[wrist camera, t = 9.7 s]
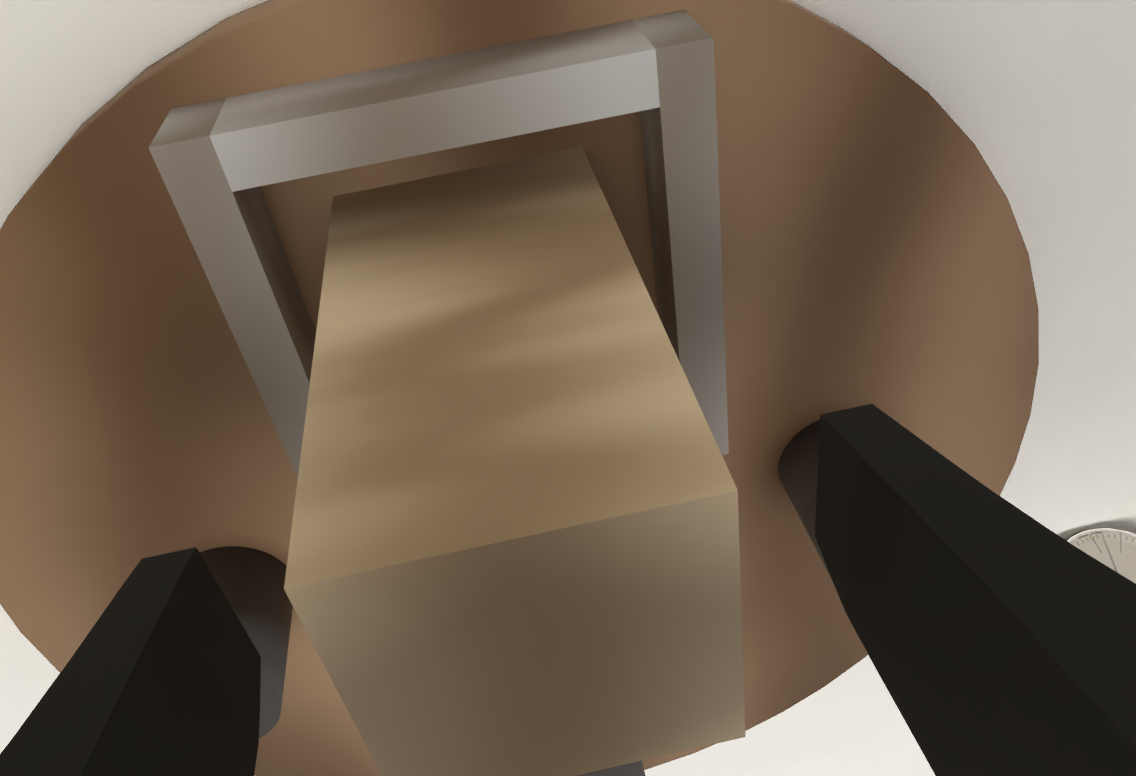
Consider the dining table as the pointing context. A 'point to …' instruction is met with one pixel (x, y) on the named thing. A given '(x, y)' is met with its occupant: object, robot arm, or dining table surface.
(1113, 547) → the watch
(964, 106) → the dining table surface
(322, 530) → the stool leg
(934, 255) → the stool seat
